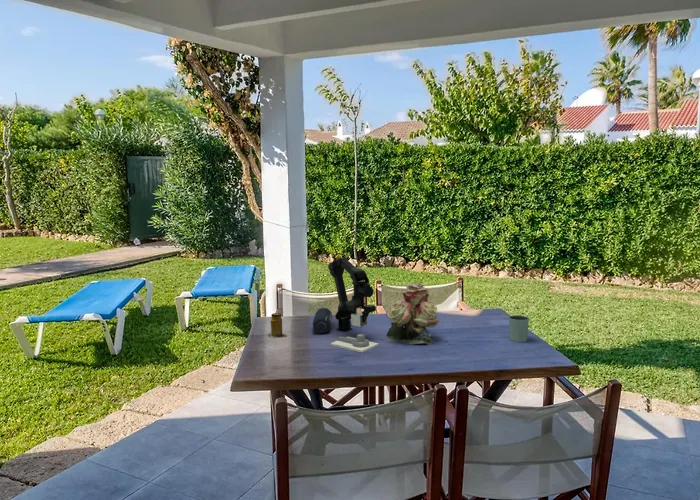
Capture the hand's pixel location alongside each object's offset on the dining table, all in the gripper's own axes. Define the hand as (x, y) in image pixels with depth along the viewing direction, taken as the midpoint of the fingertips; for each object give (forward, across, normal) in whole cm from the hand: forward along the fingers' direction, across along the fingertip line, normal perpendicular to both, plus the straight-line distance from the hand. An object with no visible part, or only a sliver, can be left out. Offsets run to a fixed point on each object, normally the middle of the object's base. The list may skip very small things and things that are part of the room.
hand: (359, 322), depth 287 cm
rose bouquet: (+8, +25, +16) cm, 31 cm away
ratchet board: (+8, +7, -13) cm, 17 cm away
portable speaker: (+8, -26, 0) cm, 27 cm away
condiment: (+8, -37, -24) cm, 45 cm away
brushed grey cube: (+1, 0, 0) cm, 1 cm away
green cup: (+8, +70, +45) cm, 84 cm away
